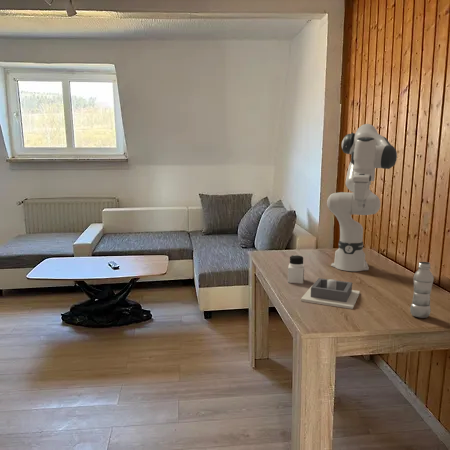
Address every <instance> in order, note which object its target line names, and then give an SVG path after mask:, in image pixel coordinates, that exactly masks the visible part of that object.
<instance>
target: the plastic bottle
mask: <svg viewBox="0 0 450 450" xmlns="http://www.w3.org/2000/svg"><path fill="white" fill-rule="evenodd" d="M417 267H418V269H417V271H415V273H414V275H413V296H412V300H411V301H412V302H411V304H410V308H409V309H410V314H411V315H412V316H413V317H415V318H420V319H426V318H428V317H430V315H431V293H432V287H433V283H434V278H435V277H434V275H433V273H432V271H431V263H430V262H428V261H419V262H418V266H417Z"/></svg>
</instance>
